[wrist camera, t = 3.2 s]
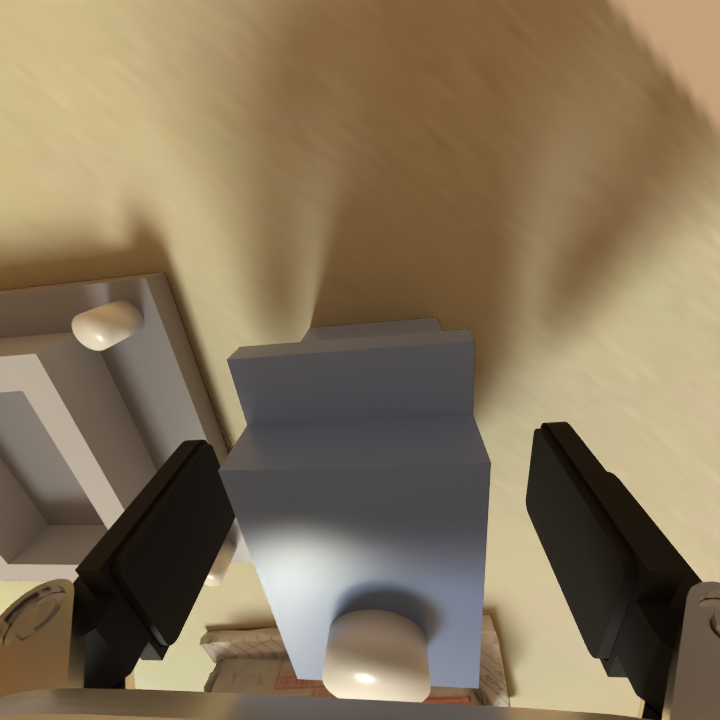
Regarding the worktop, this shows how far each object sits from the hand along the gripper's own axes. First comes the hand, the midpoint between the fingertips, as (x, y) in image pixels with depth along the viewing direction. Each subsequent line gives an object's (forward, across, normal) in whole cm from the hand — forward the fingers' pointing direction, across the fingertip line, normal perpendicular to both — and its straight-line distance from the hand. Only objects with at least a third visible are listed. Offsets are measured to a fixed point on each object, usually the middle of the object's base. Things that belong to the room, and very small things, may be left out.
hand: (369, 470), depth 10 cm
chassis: (+4, +14, +1) cm, 14 cm away
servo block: (+4, 0, 0) cm, 4 cm away
